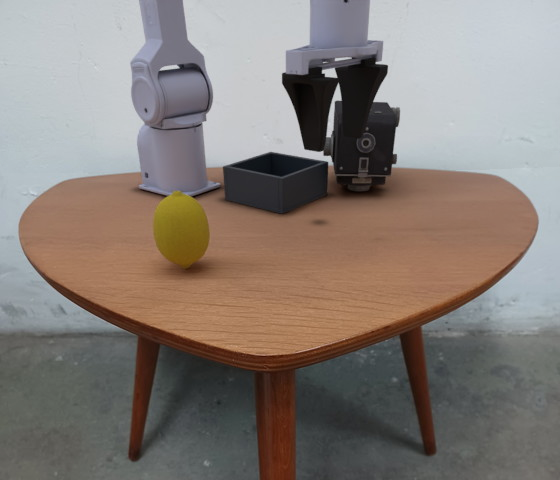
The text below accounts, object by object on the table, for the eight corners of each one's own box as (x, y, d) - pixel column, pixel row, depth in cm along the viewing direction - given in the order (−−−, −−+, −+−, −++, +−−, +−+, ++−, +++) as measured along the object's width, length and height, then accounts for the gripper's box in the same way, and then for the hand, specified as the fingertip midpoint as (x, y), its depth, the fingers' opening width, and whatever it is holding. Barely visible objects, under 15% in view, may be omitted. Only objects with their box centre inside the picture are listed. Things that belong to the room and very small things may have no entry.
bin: (224, 199, 77) (222, 166, 74) (271, 183, 83) (270, 151, 81) (282, 214, 71) (282, 178, 69) (327, 194, 78) (328, 161, 75)
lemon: (161, 259, 60) (150, 183, 55) (212, 256, 60) (206, 181, 56) (156, 280, 55) (144, 200, 51) (212, 278, 56) (205, 198, 51)
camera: (399, 206, 77) (386, 166, 88) (412, 119, 69) (396, 89, 81) (323, 205, 77) (319, 166, 88) (328, 118, 70) (323, 88, 81)
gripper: (332, -9, 46) (326, 162, 53) (414, -10, 55) (399, 136, 63) (266, -8, 49) (270, 152, 57) (354, -9, 58) (346, 128, 66)
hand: (334, 143), depth 60 cm, fingers open, 7 cm apart
